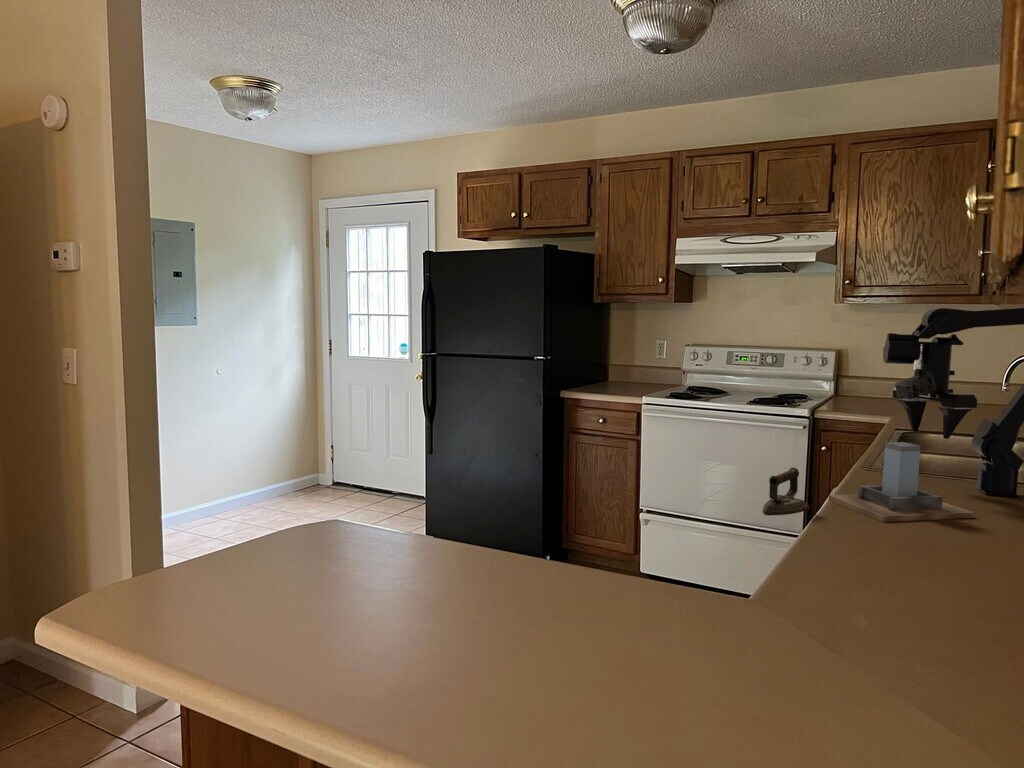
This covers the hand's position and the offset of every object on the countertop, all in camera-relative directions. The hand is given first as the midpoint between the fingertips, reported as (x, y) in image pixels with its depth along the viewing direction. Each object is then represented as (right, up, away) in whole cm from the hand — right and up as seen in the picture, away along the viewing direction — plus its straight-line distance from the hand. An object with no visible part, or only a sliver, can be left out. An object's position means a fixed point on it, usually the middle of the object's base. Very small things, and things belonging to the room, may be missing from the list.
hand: (930, 434), depth 163 cm
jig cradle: (-16, -14, -17) cm, 27 cm away
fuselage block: (-16, -13, -17) cm, 27 cm away
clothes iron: (-41, -14, -20) cm, 47 cm away
